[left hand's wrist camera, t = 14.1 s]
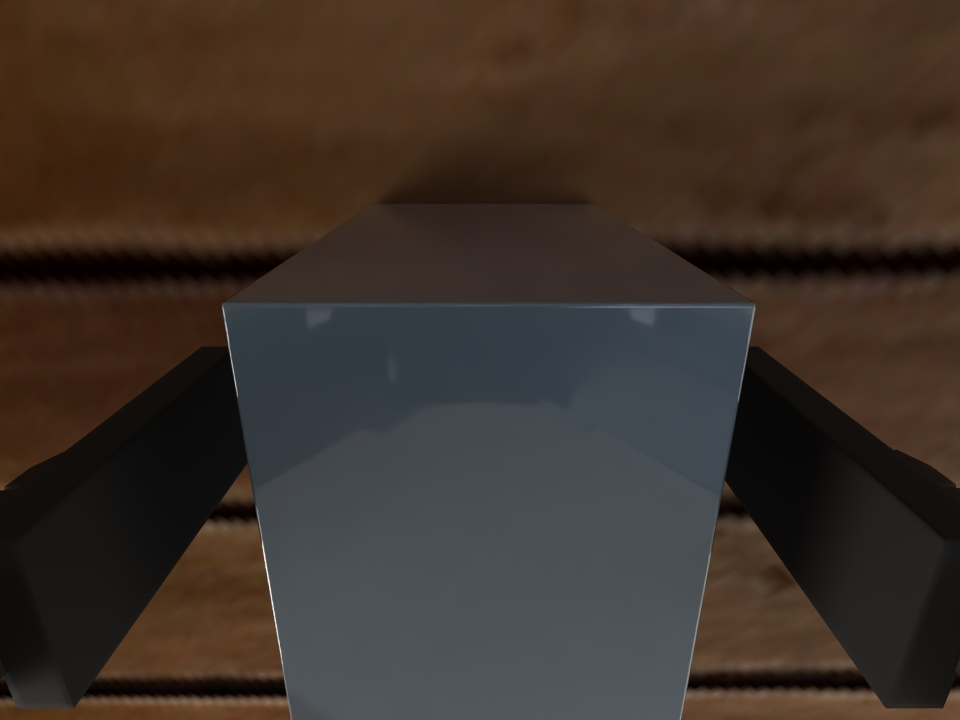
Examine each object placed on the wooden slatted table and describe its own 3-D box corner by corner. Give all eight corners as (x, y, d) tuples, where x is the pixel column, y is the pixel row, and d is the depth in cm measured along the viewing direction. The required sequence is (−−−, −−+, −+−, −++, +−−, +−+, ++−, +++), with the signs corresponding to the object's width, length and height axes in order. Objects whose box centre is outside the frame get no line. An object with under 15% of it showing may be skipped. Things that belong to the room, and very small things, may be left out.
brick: (388, 444, 19) (295, 753, 10) (372, 203, 16) (218, 302, 7) (578, 444, 19) (676, 754, 10) (596, 203, 16) (759, 303, 7)
